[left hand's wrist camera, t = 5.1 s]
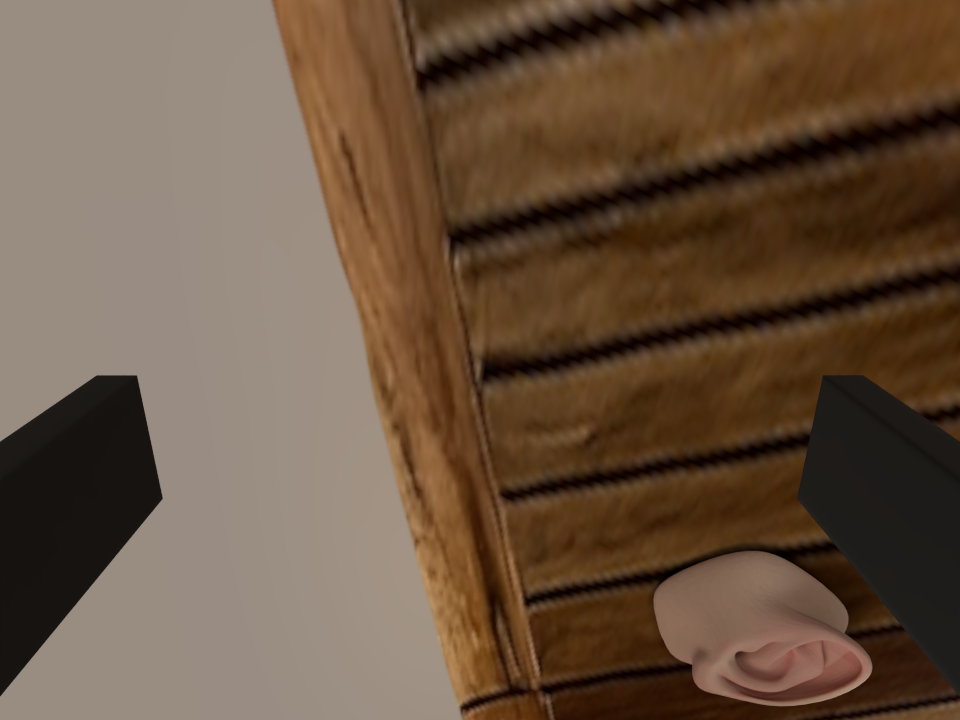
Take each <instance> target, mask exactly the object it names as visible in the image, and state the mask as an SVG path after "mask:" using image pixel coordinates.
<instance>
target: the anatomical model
mask: <svg viewBox="0 0 960 720" xmlns="http://www.w3.org/2000/svg"><path fill="white" fill-rule="evenodd" d="M654 611H655V615H656V619H657V623H658V627H659V631H660V634H661V636H662V638H663V640H664V642H665V644H666V646H667V648H668V650H669V651H670V653H671V654H672V655H673V656H674V657H676V658H677V659H679V660H681V661H684V662H686V663H689V664H692V674H693V679H694V681H695V683H696V685H697V686H698V687H699V688H700V689H702V690H704V691H707V692H710V693H714V694H718V695H723V696H727V697H731V698H735V699H740V700H744V701H748V702H753V703H758V704H764V705H773V706H794V705H802V704H809V703H814V702H819V701H823V700H827V699H830V698H834V697H836V696H839V695H841V694H844V693H846V692H848V691H850V690H852V689H854V688H855V687H857V686H859V685H860V684H861V683H863V682H864V681H865V680H866V679H867V678H868V677H869V676H870V674H871V672H872V662H871V660H870V657H869V656H868V654H867V653H866V652H865V650H864V649H863V648H862V647H861V646H860V645H859V644H858V643H857V642H855V641H854V640H853V639H851V638H850V637H848V636H847V635H846V634H844V633H845V631H846V629H847V626H848V613H847V610H846V608H845V607H844V605H843V604H842V603H841V602H840V600H839V599H838V598H837V597H836V596H835V595H834V594H833V593H832V592H831V591H829V590H828V589H827V588H826V587H825V586H824V585H823V584H821V583H820V582H819V581H817V580H816V579H815V578H814V577H812V576H811V575H809V574H808V573H806V572H805V571H804V570H802V569H801V568H799V567H797V566H796V565H794V564H793V563H791V562H789V561H787V560H785V559H783V558H781V557H779V556H776V555H774V554H771V553H767V552H761V551H742V552H735V553H730V554H725V555H722V556H718V557H715V558H711V559H709V560H706V561H703V562H701V563H698V564H696V565H693V566H691V567H689V568H686V569H684V570H682V571H680V572H678V573H676V574H674V575H673V576H671V577H669V578H667V579H666V580H665V581H664V582H662V583H661V584H660V585H659V586H658V588H657V589H656V591H655V594H654Z"/></svg>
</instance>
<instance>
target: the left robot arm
mask: <svg viewBox="0 0 960 720" xmlns="http://www.w3.org/2000/svg"><path fill="white" fill-rule="evenodd" d="M162 499H163V498H162V493H161V488H160V484H159V479H158V474H157V469H156V464H155V460H154V455H153V450H152V445H151V440H150V436H149V431H148V426H147V421H146V417H145V412H144V407H143V402H142V398H141V393H140V388H139V383H138V378H137V376H95V377H94V378H93V379H91V380H90V381H88V382H87V383H85V384H84V385H82V386H81V387H79V388H78V389H76V390H75V391H74V392H72V393H71V394H69V395H68V396H66V397H65V398H63V399H62V400H60V401H59V402H58V403H56V404H55V405H53V406H52V407H50V408H49V409H47V410H46V411H44V412H43V413H42V414H40V415H39V416H37V417H36V418H34V419H33V420H31V421H30V422H28V423H27V424H25V425H24V426H23V427H21V428H20V429H18V430H17V431H15V432H14V433H12V434H11V435H9V436H8V437H6V438H5V439H4V440H2V441H1V442H0V696H1V695H2V694H3V692H4V691H5V690H6V689H7V687H8V686H9V685H10V684H11V683H12V681H13V680H14V679H15V678H16V676H17V675H18V674H19V673H20V672H21V670H22V669H23V668H24V667H25V665H26V664H27V663H28V662H29V661H30V659H31V658H32V657H33V656H34V655H35V653H36V652H37V651H38V650H39V648H40V647H41V646H42V645H43V644H44V642H45V641H46V640H47V639H48V638H49V636H50V635H51V634H52V633H53V631H54V630H55V629H56V628H57V627H58V625H59V624H60V623H61V622H62V620H63V619H64V618H65V617H66V616H67V614H68V613H69V612H70V611H71V610H72V608H73V607H74V606H75V605H76V604H77V602H78V601H79V600H80V599H81V597H82V596H83V595H84V594H85V593H86V591H87V590H88V589H89V588H90V586H91V585H92V584H93V583H94V582H95V580H96V579H97V578H98V577H99V576H100V574H101V573H102V572H103V571H104V569H105V568H106V567H107V566H108V565H109V563H110V562H111V561H112V560H113V559H114V557H115V556H116V555H117V554H118V552H119V551H120V550H121V549H122V548H123V546H124V545H125V544H126V543H127V541H128V540H129V539H130V538H131V537H132V535H133V534H134V533H135V532H136V531H137V529H138V528H139V527H140V526H141V524H142V523H143V522H144V521H145V520H146V518H147V517H148V516H149V515H150V513H151V512H152V511H153V510H154V509H155V507H156V506H157V505H158V504H159V503H160V501H161V500H162ZM797 499H798V500H799V501H800V503H801V504H802V505H803V506H804V507H805V509H806V510H807V511H808V512H809V514H810V515H811V516H812V517H813V518H814V520H815V521H816V522H817V523H818V524H819V526H820V527H821V528H822V529H823V531H824V532H825V533H826V534H827V535H828V537H829V538H830V539H831V540H832V541H833V543H834V544H835V545H836V546H837V548H838V549H839V550H840V551H841V552H842V554H843V555H844V556H845V557H846V559H847V560H848V561H849V562H850V563H851V565H852V566H853V567H854V568H855V569H856V571H857V572H858V573H859V574H860V576H861V577H862V578H863V579H864V580H865V582H866V583H867V584H868V585H869V586H870V588H871V589H872V590H873V591H874V593H875V594H876V595H877V596H878V597H879V599H880V600H881V601H882V602H883V604H884V605H885V606H886V607H887V608H888V610H889V611H890V612H891V613H892V614H893V616H894V617H895V618H896V619H897V621H898V622H899V623H900V624H901V625H902V627H903V628H904V629H905V630H906V631H907V633H908V634H909V635H910V636H911V638H912V639H913V640H914V641H915V642H916V644H917V645H918V646H919V647H920V649H921V650H922V651H923V652H924V653H925V655H926V656H927V657H928V658H929V659H930V661H931V662H932V663H933V664H934V666H935V667H936V668H937V669H938V670H939V672H940V673H941V674H942V675H943V676H944V678H945V679H946V680H947V681H948V683H949V684H950V685H951V686H952V687H953V689H954V690H955V691H956V692H957V694H958V695H959V696H960V442H959V441H958V440H956V439H955V438H954V437H952V436H951V435H949V434H948V433H946V432H945V431H943V430H942V429H940V428H939V427H938V426H936V425H935V424H933V423H932V422H930V421H929V420H927V419H926V418H924V417H923V416H921V415H920V414H919V413H917V412H916V411H914V410H913V409H911V408H910V407H908V406H907V405H905V404H904V403H903V402H901V401H900V400H898V399H897V398H895V397H894V396H892V395H891V394H889V393H888V392H886V391H885V390H884V389H882V388H881V387H879V386H878V385H876V384H875V383H873V382H872V381H870V380H869V379H868V378H866V377H865V376H823V378H822V383H821V388H820V393H819V398H818V402H817V407H816V412H815V417H814V421H813V426H812V431H811V436H810V440H809V445H808V450H807V455H806V460H805V464H804V469H803V474H802V479H801V483H800V488H799V493H798V498H797Z"/></svg>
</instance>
